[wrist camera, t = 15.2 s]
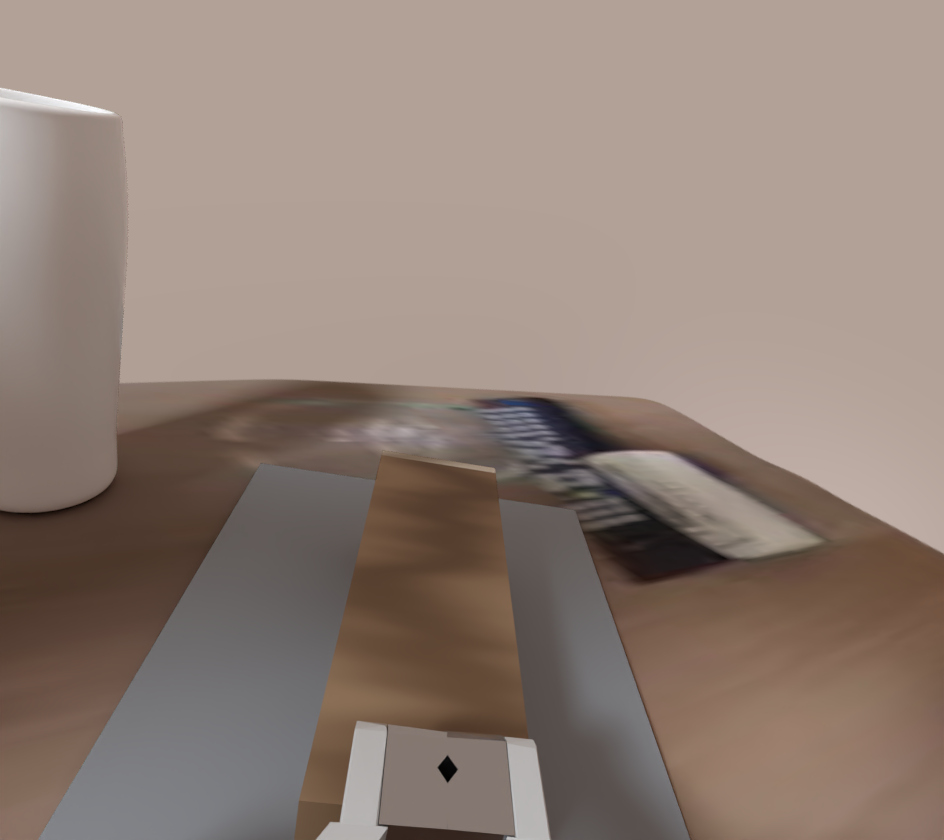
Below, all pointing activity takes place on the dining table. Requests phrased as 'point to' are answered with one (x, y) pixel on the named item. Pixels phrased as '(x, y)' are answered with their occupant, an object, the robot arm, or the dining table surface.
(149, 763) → the rubber mat
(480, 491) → the light wooden block
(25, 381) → the drinking glass
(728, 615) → the dining table surface
